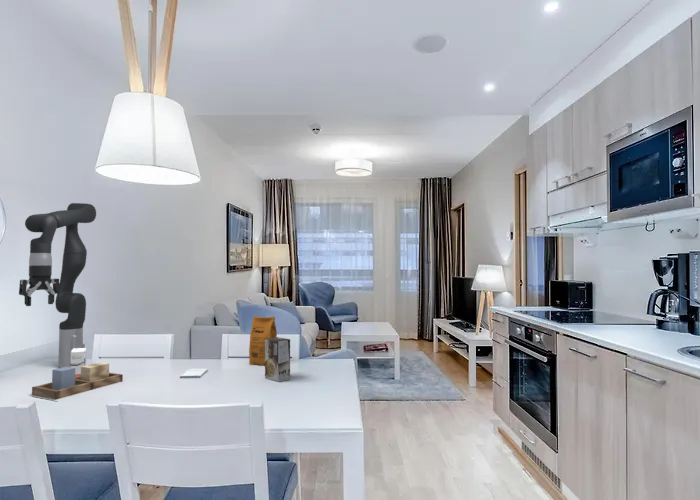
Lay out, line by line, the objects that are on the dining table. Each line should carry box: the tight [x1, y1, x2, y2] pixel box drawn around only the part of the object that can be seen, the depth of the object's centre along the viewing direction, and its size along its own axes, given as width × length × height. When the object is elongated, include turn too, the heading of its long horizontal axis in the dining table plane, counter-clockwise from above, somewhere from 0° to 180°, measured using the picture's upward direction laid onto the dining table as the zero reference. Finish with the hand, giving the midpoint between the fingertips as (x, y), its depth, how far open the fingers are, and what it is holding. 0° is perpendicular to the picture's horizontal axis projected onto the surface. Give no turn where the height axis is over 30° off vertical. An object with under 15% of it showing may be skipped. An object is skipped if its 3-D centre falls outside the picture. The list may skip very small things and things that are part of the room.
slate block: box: [51, 367, 75, 390], centre depth 160 cm, size 5×5×8 cm
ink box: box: [70, 347, 87, 377], centre depth 182 cm, size 8×5×12 cm, turn 26°
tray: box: [31, 372, 124, 403], centre depth 166 cm, size 26×13×3 cm, turn 156°
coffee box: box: [264, 336, 291, 383], centre depth 182 cm, size 9×6×16 cm
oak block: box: [81, 361, 110, 382], centre depth 171 cm, size 8×5×7 cm, turn 156°
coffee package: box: [248, 315, 278, 366], centre depth 210 cm, size 10×12×22 cm
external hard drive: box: [179, 368, 209, 379], centre depth 189 cm, size 2×8×12 cm
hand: (39, 305), depth 179 cm, fingers open, 8 cm apart
